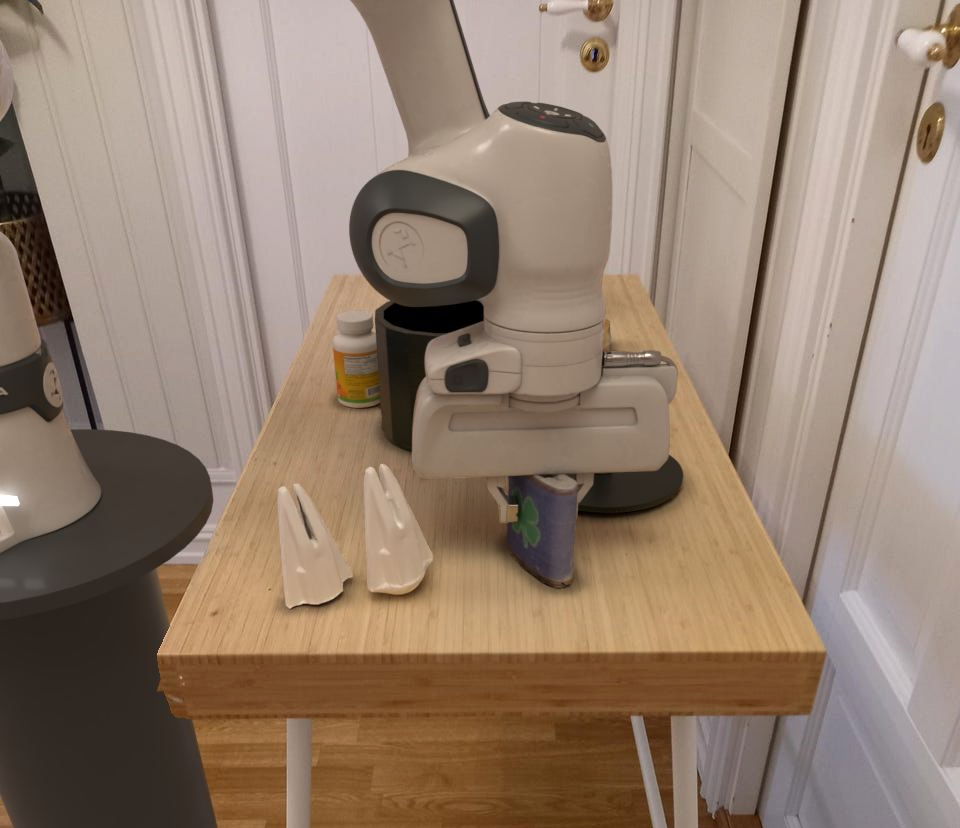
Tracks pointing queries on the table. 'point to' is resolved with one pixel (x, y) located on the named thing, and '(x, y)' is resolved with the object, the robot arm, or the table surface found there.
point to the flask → (544, 526)
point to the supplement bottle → (356, 360)
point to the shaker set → (321, 565)
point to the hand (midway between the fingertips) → (537, 518)
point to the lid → (632, 489)
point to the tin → (411, 357)
